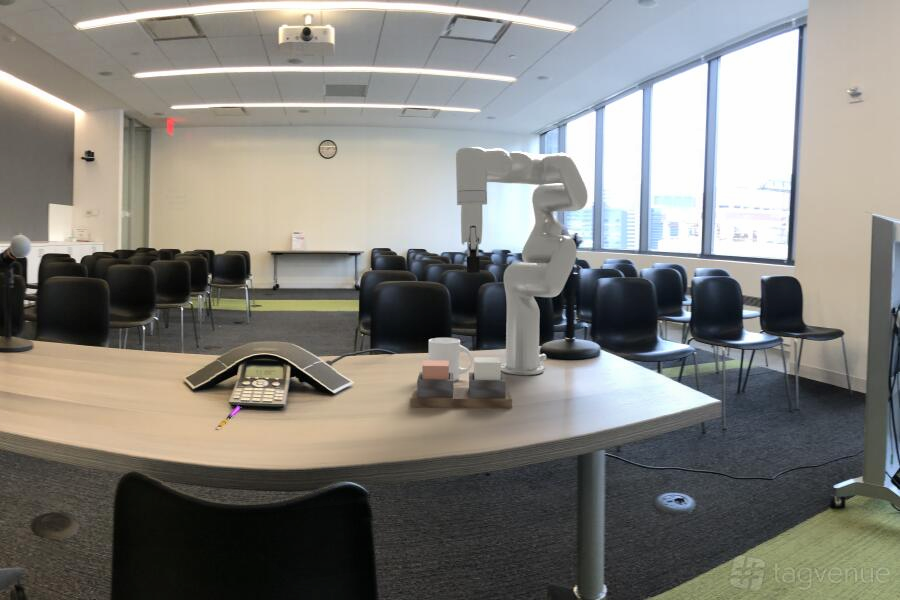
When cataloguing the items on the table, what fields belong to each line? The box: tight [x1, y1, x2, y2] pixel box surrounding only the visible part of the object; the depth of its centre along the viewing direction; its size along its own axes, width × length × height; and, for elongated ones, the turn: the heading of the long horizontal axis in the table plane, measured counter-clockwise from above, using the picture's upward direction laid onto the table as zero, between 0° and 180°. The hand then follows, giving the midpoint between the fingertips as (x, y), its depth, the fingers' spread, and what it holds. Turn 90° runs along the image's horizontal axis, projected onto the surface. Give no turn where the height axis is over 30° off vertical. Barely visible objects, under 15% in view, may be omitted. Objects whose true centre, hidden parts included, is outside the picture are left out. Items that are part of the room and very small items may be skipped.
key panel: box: [410, 371, 513, 409], centre depth 134 cm, size 23×10×6 cm, turn 89°
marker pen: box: [217, 405, 242, 427], centre depth 122 cm, size 3×1×16 cm
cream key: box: [473, 356, 502, 380], centre depth 134 cm, size 6×6×6 cm
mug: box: [428, 337, 473, 382], centre depth 156 cm, size 9×12×11 cm
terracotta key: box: [421, 359, 449, 380], centre depth 134 cm, size 6×6×6 cm
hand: (473, 272), depth 144 cm, fingers closed
